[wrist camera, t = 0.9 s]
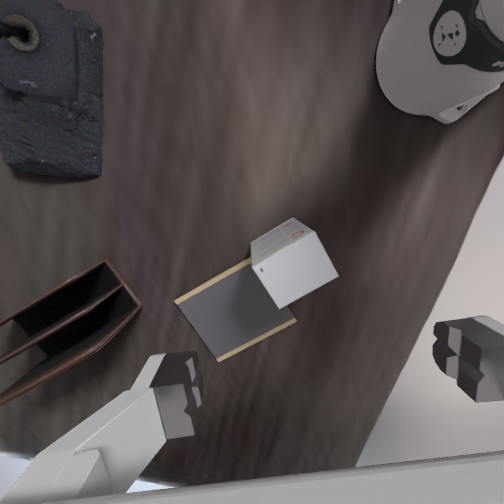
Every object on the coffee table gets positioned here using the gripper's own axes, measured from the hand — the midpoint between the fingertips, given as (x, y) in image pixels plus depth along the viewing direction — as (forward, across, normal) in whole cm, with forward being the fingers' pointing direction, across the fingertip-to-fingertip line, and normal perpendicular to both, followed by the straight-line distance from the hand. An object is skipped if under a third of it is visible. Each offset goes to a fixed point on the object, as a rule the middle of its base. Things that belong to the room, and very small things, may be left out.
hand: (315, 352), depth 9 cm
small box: (+32, -3, +4) cm, 33 cm away
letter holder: (+33, +33, +11) cm, 48 cm away
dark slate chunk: (+33, +27, -22) cm, 48 cm away
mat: (+32, +6, +14) cm, 36 cm away
